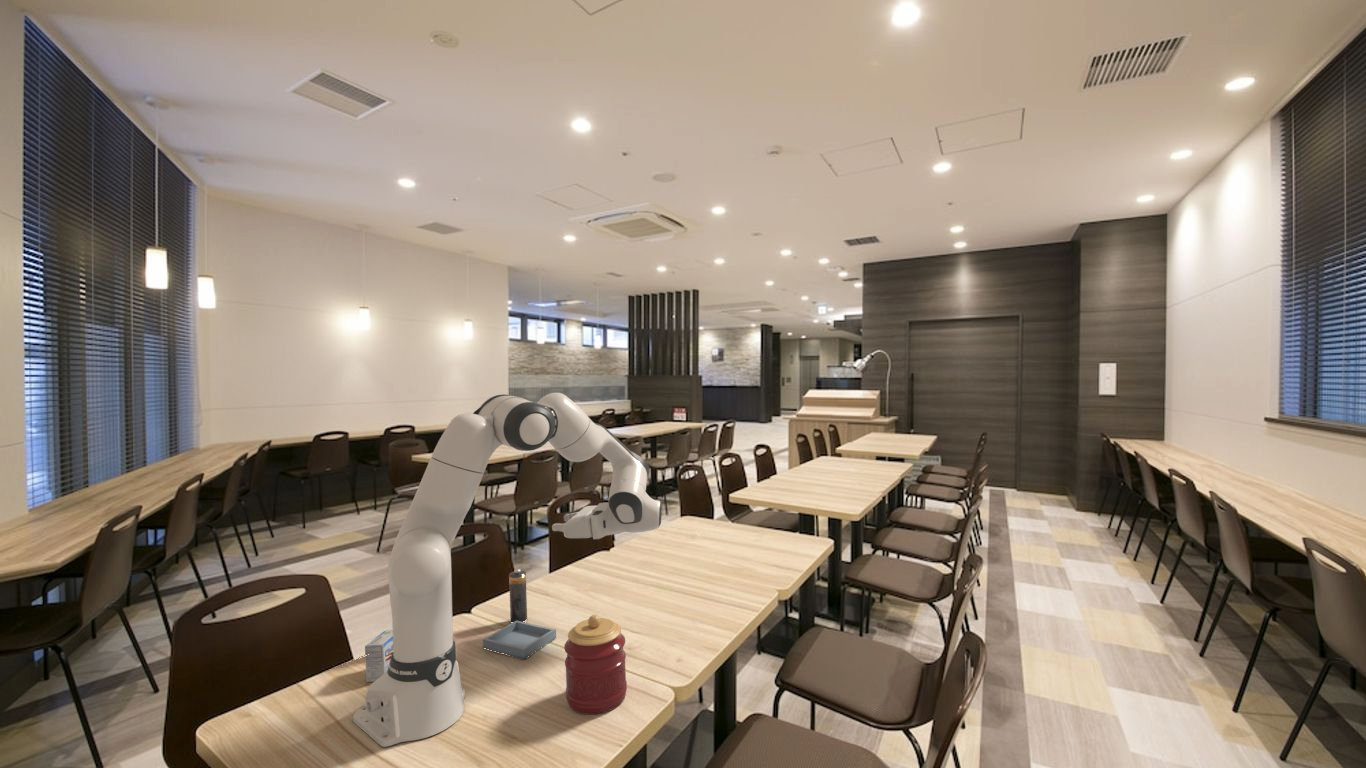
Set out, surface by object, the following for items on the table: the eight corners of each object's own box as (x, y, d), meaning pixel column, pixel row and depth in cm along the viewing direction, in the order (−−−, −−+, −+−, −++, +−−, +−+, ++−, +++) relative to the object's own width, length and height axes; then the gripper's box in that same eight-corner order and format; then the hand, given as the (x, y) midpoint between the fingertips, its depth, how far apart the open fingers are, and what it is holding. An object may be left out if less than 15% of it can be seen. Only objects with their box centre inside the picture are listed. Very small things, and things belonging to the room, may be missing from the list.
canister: (591, 675, 123) (589, 599, 123) (638, 689, 117) (636, 609, 117) (553, 706, 111) (550, 622, 112) (602, 723, 105) (599, 634, 105)
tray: (483, 649, 137) (482, 639, 137) (516, 629, 148) (516, 620, 148) (524, 660, 131) (523, 649, 131) (556, 638, 142) (555, 629, 142)
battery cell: (507, 623, 152) (505, 571, 152) (518, 617, 156) (517, 566, 156) (519, 626, 150) (517, 573, 150) (530, 619, 154) (529, 568, 154)
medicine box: (384, 682, 123) (383, 645, 123) (365, 682, 123) (364, 645, 123) (402, 664, 131) (401, 629, 131) (384, 665, 131) (383, 629, 131)
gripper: (613, 498, 159) (569, 502, 161) (594, 517, 139) (544, 521, 141) (616, 519, 159) (572, 523, 161) (597, 541, 139) (547, 545, 141)
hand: (558, 522), depth 151 cm, fingers open, 8 cm apart
